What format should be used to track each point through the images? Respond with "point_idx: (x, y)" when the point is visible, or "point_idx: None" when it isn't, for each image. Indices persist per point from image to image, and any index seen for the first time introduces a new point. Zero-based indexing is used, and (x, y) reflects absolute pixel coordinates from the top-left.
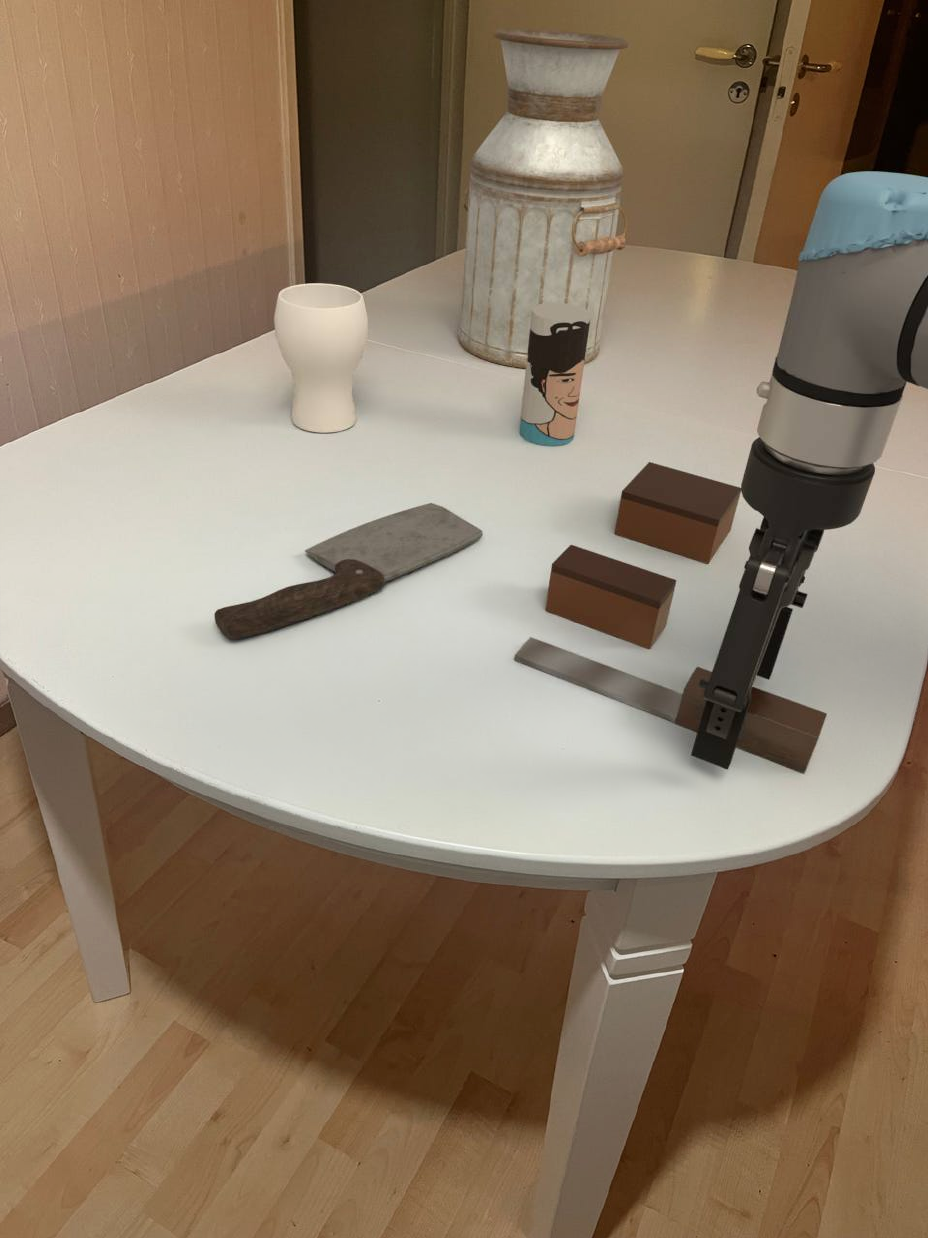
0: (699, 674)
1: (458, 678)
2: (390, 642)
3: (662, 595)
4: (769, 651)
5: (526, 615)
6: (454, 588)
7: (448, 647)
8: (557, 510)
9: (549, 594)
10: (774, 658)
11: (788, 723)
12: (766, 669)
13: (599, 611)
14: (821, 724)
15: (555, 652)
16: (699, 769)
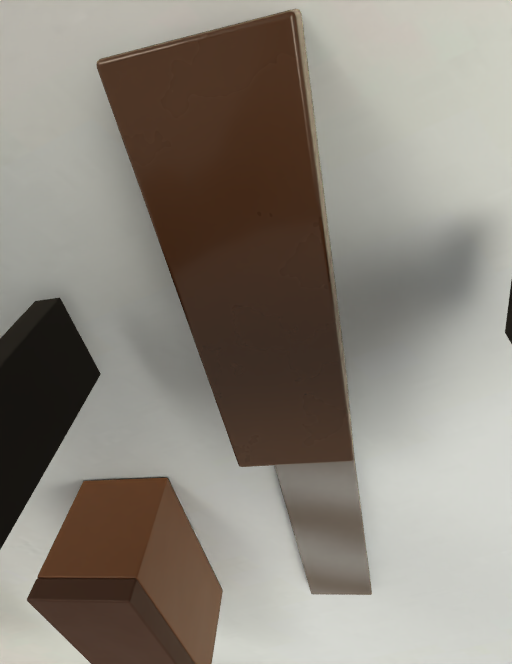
0: (268, 455)
1: (463, 607)
2: (441, 661)
3: (105, 604)
4: (20, 380)
5: (254, 599)
6: (276, 652)
7: (403, 629)
8: (9, 634)
9: (216, 626)
10: (21, 350)
11: (295, 172)
12: (51, 329)
13: (189, 582)
14: (187, 46)
15: (320, 567)
16: (473, 272)
